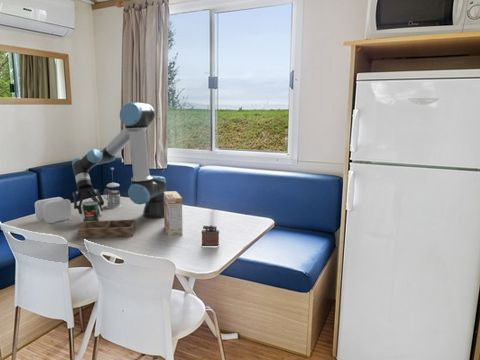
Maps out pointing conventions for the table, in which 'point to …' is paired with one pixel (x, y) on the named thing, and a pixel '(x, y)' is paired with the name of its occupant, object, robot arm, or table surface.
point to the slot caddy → (107, 229)
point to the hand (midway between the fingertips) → (92, 217)
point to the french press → (113, 196)
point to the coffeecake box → (173, 213)
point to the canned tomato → (90, 211)
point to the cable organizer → (53, 209)
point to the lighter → (210, 236)
